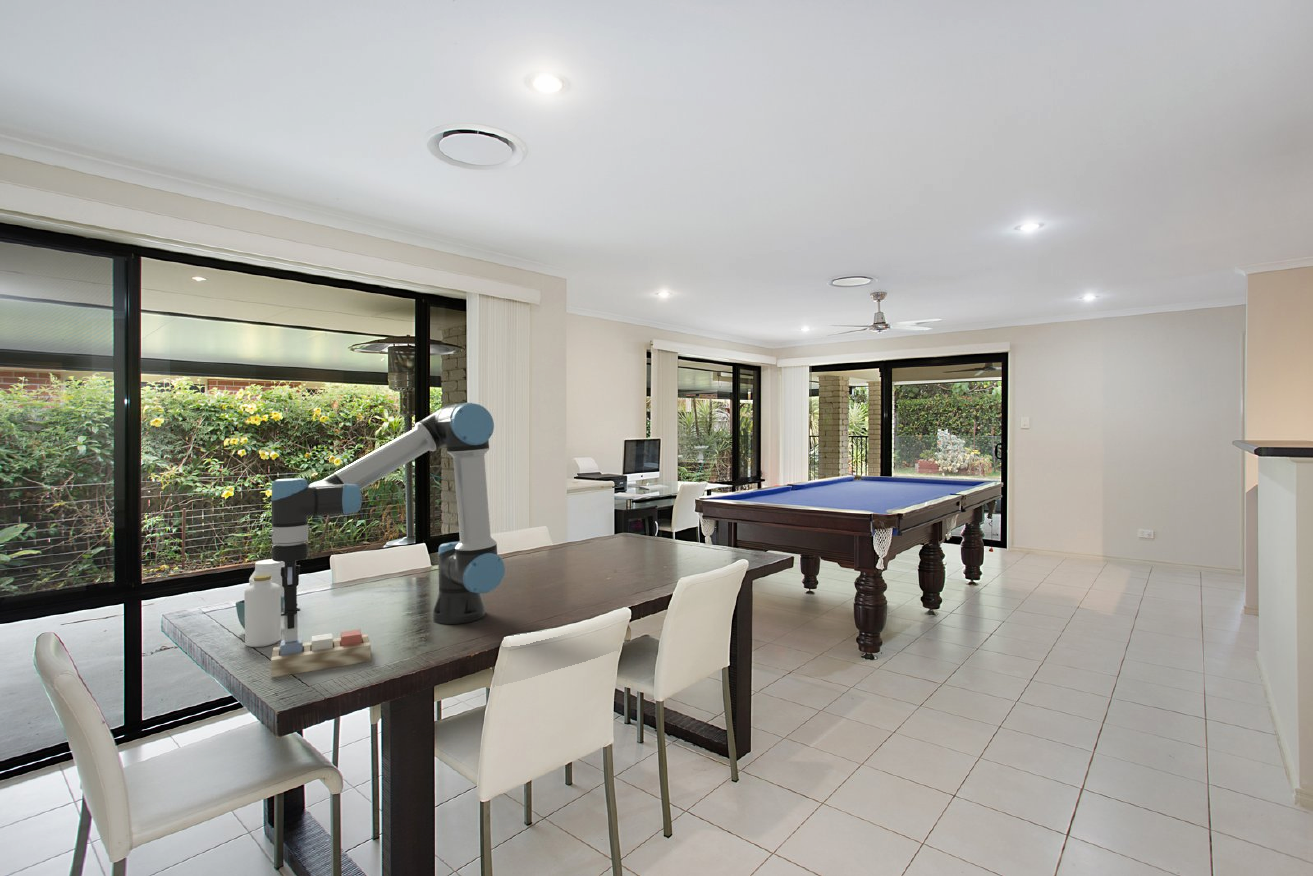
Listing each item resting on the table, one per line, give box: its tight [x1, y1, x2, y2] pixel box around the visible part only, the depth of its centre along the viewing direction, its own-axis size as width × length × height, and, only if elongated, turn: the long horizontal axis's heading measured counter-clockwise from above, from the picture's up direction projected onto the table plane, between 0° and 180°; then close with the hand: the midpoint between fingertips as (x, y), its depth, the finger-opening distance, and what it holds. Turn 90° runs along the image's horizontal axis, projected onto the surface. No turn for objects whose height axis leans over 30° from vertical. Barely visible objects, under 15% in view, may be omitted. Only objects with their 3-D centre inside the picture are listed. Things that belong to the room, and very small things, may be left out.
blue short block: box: [280, 637, 304, 656], centre depth 152 cm, size 4×4×5 cm
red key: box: [340, 628, 362, 646], centre depth 159 cm, size 4×4×5 cm
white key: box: [311, 632, 334, 651], centre depth 156 cm, size 4×4×5 cm
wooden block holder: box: [270, 633, 372, 678], centre depth 156 cm, size 21×10×4 cm, turn 119°
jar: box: [248, 558, 285, 610], centre depth 205 cm, size 12×10×15 cm
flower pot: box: [235, 596, 284, 630], centre depth 181 cm, size 9×9×9 cm
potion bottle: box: [243, 575, 282, 648], centre depth 170 cm, size 8×8×18 cm
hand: (291, 640), depth 152 cm, fingers closed
